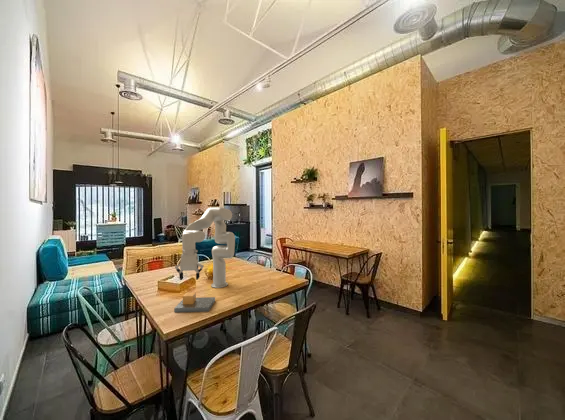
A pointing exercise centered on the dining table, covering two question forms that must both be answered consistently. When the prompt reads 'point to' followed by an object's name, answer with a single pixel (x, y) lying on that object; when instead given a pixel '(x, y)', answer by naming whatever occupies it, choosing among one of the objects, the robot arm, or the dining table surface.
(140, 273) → the dining table surface
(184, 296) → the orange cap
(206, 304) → the plate
